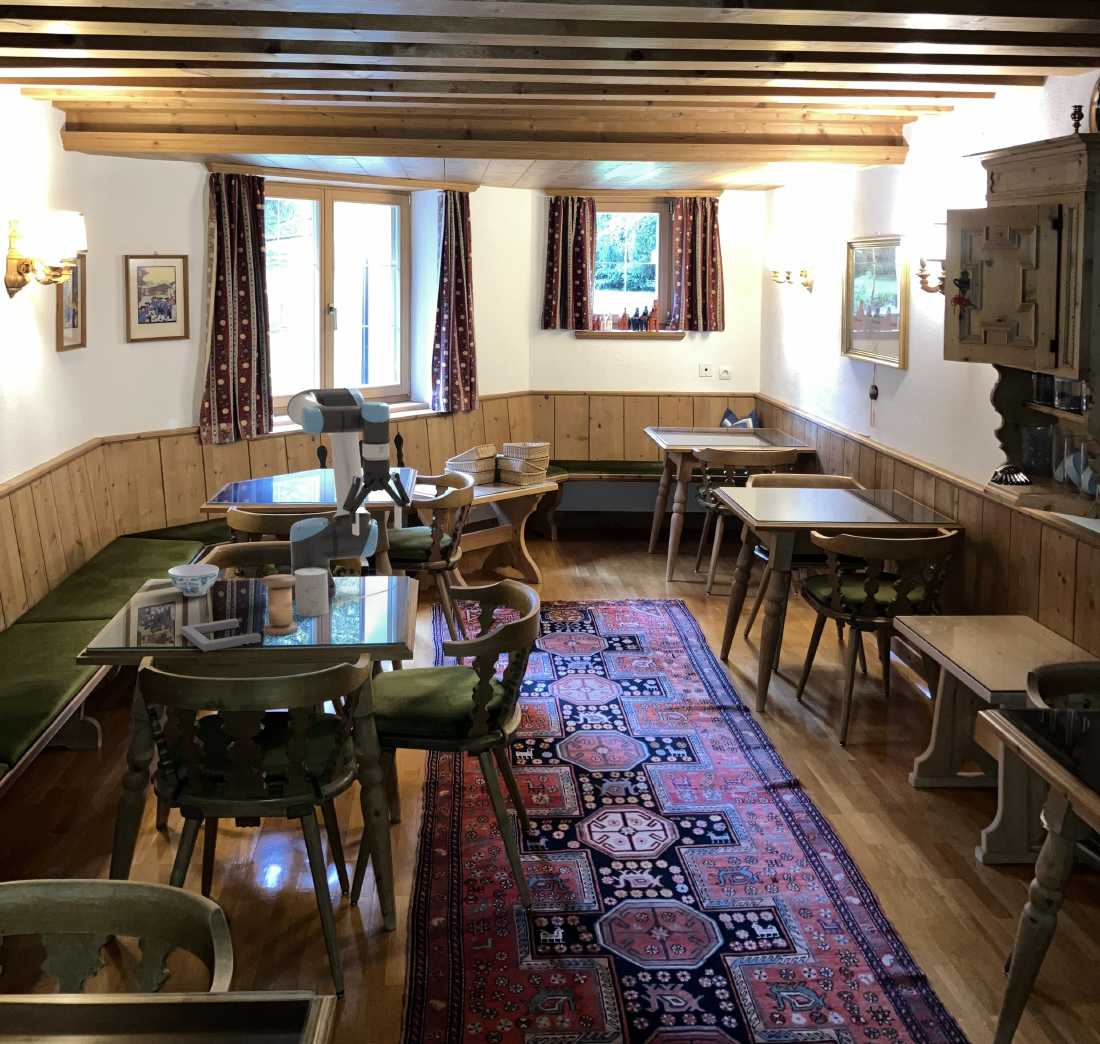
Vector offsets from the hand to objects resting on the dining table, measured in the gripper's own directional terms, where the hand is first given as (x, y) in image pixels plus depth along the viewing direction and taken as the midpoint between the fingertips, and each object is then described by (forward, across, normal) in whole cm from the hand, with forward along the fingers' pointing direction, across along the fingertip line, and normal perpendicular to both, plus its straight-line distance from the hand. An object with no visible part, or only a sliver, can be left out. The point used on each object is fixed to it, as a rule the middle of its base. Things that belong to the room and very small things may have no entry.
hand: (377, 531), depth 330 cm
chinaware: (+27, -33, +57) cm, 71 cm away
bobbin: (+26, -28, +5) cm, 38 cm away
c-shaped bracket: (+26, -44, +8) cm, 52 cm away
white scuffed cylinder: (+26, -12, +17) cm, 34 cm away
